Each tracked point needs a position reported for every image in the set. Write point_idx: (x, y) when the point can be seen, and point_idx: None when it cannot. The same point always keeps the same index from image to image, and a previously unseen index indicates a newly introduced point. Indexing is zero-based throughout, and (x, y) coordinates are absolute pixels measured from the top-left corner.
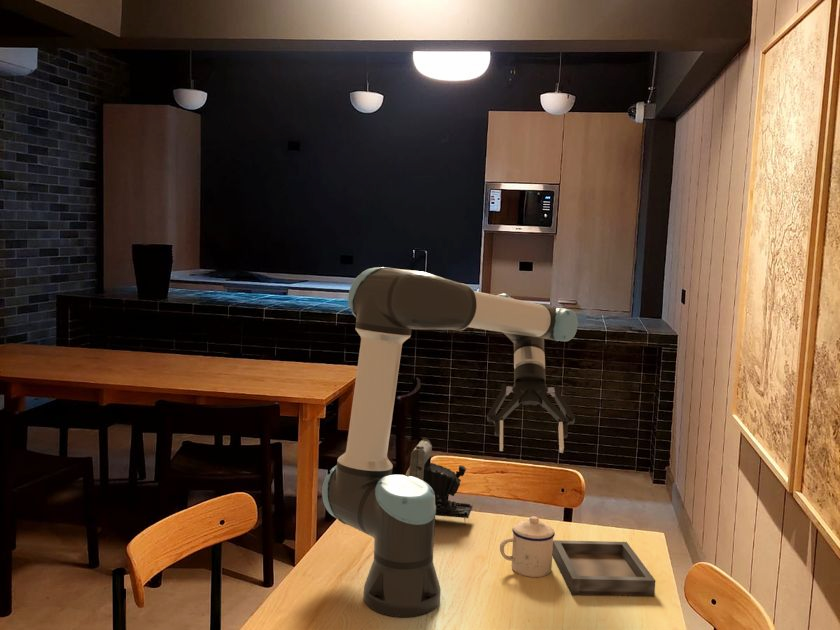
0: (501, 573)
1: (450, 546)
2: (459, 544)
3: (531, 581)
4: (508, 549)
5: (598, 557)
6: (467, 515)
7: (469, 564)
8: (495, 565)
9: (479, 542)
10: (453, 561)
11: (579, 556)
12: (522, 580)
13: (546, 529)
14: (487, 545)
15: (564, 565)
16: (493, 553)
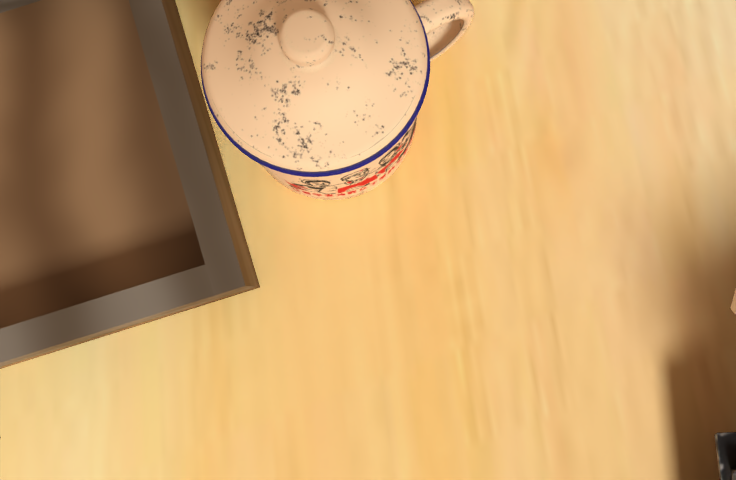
0: None
1: (715, 219)
2: (681, 255)
3: None
4: (455, 280)
5: (50, 288)
6: (728, 463)
7: (589, 69)
8: (482, 98)
9: (598, 310)
10: (661, 73)
11: (133, 268)
12: None
13: (237, 30)
14: (555, 290)
15: (178, 50)
16: (512, 213)
